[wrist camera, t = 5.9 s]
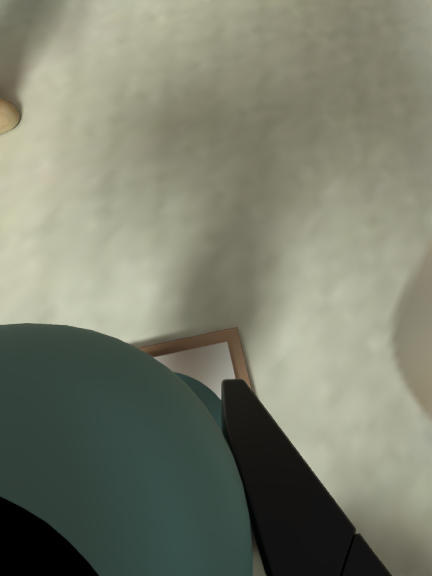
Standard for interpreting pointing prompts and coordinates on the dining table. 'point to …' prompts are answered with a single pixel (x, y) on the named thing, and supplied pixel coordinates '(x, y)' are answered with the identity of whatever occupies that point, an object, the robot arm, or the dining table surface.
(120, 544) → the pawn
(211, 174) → the dining table surface
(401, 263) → the dining table surface
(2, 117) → the grandmother figurine
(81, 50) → the dining table surface
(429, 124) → the dining table surface
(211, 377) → the board
